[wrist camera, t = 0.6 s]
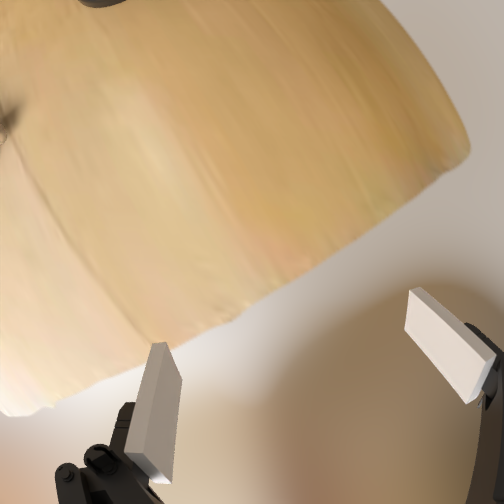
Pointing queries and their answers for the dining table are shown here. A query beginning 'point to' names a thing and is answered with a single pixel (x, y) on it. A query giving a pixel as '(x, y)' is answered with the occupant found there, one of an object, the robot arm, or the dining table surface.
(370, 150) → the dining table surface
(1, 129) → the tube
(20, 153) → the dining table surface
